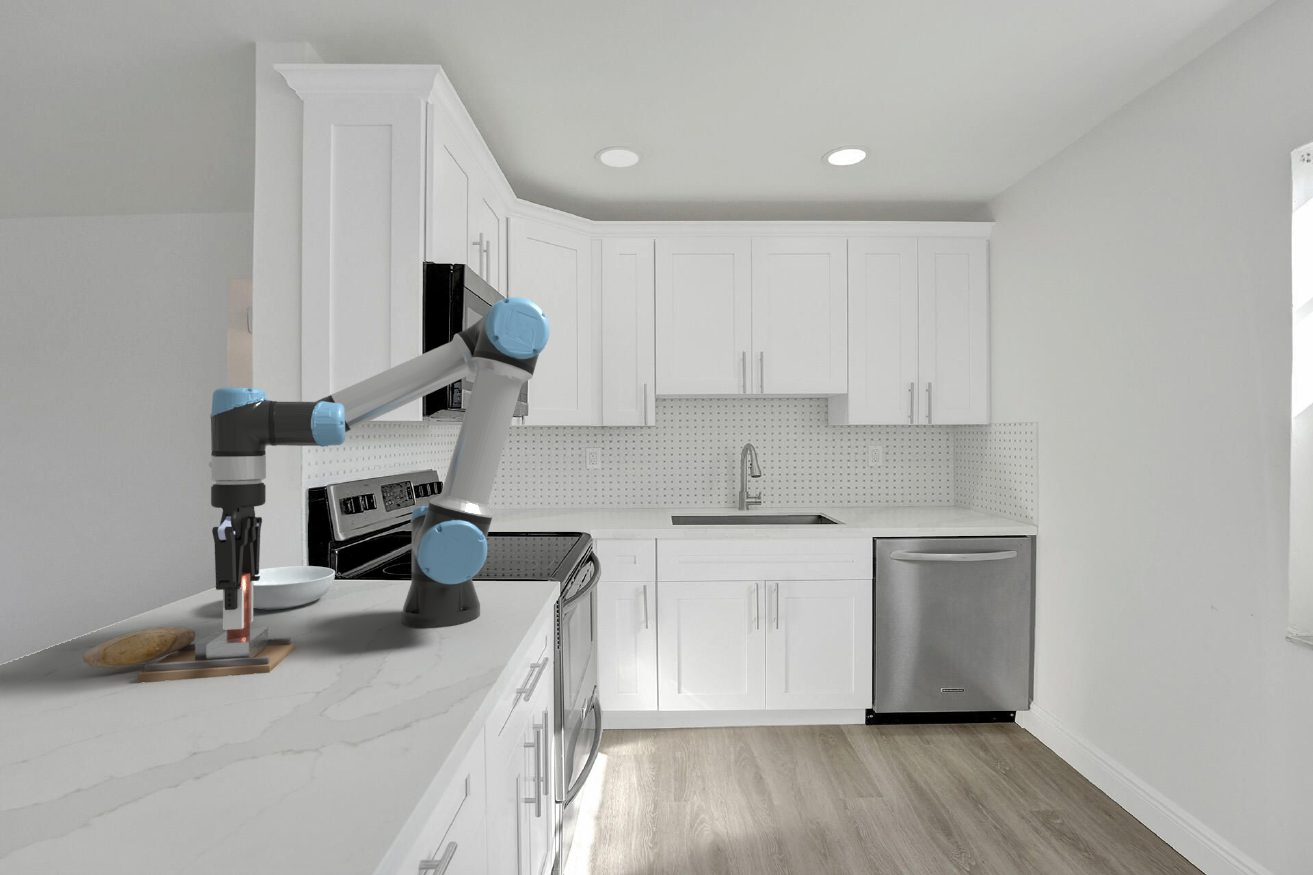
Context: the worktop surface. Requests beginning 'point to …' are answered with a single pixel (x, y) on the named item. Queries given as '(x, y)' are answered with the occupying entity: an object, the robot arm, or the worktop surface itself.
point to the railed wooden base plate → (215, 663)
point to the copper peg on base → (234, 636)
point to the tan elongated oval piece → (138, 647)
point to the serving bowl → (290, 586)
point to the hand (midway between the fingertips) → (238, 624)
